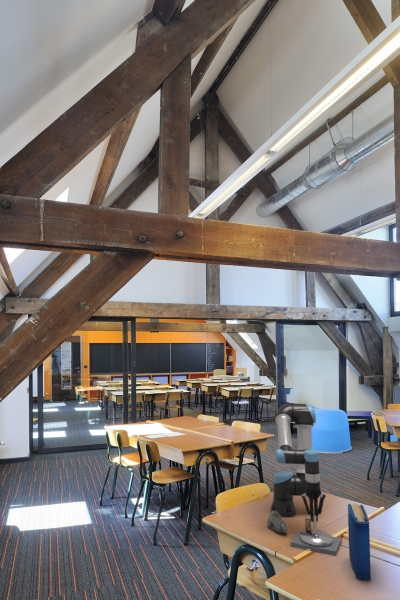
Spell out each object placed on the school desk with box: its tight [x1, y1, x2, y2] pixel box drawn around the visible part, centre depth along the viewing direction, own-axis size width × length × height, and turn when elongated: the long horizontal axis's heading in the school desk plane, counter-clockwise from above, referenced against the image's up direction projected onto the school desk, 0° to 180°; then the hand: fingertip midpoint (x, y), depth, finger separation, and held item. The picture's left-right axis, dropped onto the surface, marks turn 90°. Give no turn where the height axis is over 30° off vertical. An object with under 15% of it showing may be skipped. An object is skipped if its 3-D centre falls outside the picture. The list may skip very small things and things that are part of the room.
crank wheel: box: [300, 518, 334, 547], centre depth 223 cm, size 16×16×8 cm
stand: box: [290, 530, 343, 557], centre depth 222 cm, size 17×22×2 cm
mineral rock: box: [266, 511, 288, 534], centre depth 239 cm, size 13×11×10 cm
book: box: [347, 503, 372, 580], centre depth 198 cm, size 22×7×25 cm, turn 168°
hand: (314, 527), depth 229 cm, fingers closed
